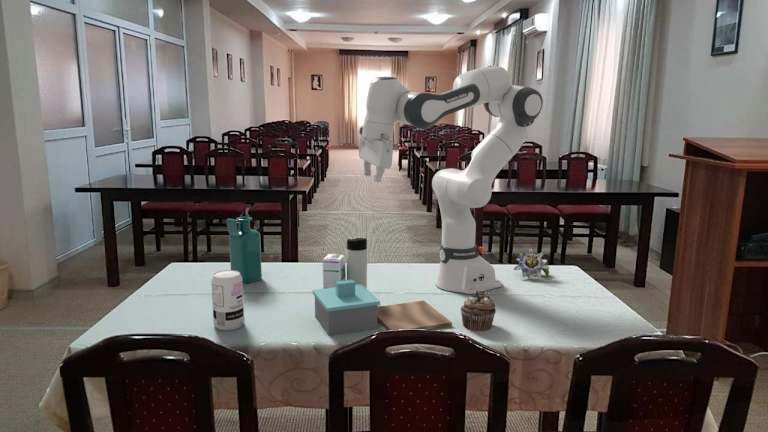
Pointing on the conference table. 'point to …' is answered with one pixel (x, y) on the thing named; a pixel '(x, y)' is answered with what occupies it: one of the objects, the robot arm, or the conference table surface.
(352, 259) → the travel mug
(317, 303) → the storage box
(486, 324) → the cupcake
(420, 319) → the walnut board
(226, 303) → the supplement can
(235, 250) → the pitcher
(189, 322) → the conference table surface
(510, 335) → the conference table surface
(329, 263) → the syrup box
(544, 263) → the passion flower
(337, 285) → the lid
